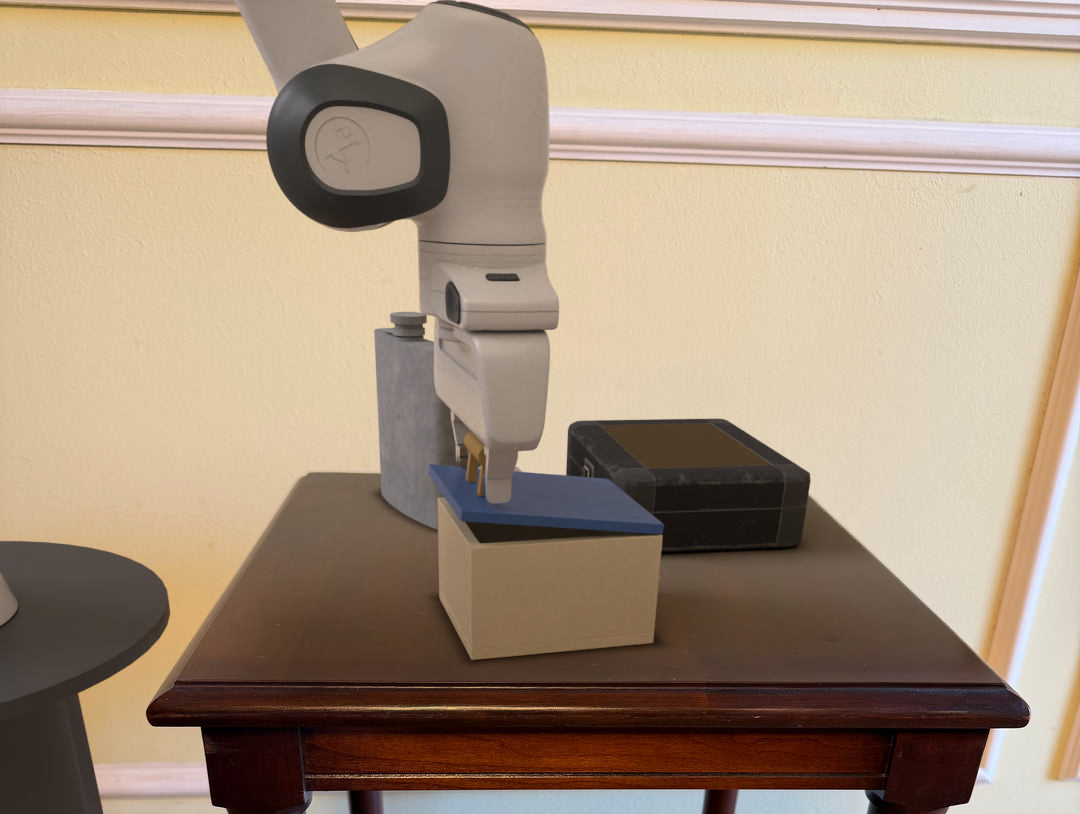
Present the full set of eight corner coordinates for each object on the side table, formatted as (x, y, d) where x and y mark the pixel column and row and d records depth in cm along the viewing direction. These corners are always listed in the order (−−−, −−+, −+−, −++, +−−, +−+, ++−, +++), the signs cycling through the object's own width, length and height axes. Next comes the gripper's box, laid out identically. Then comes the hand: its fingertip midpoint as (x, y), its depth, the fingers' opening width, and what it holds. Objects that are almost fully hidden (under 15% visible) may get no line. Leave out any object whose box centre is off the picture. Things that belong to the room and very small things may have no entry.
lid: (460, 521, 72) (468, 456, 70) (428, 473, 83) (433, 416, 81) (662, 534, 77) (675, 474, 75) (606, 488, 88) (616, 434, 86)
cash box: (557, 486, 120) (559, 419, 117) (721, 481, 124) (728, 416, 120) (610, 557, 99) (615, 478, 95) (806, 549, 102) (818, 473, 99)
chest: (471, 660, 77) (470, 547, 73) (439, 598, 88) (437, 497, 84) (653, 643, 81) (663, 535, 77) (601, 585, 92) (607, 488, 88)
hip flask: (466, 528, 105) (465, 322, 96) (431, 533, 104) (426, 323, 94) (402, 489, 117) (396, 302, 108) (369, 493, 115) (360, 303, 106)
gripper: (412, 272, 79) (417, 451, 86) (469, 304, 62) (469, 525, 69) (491, 272, 81) (490, 448, 87) (568, 304, 64) (559, 520, 70)
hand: (481, 482), depth 78 cm, fingers open, 8 cm apart
